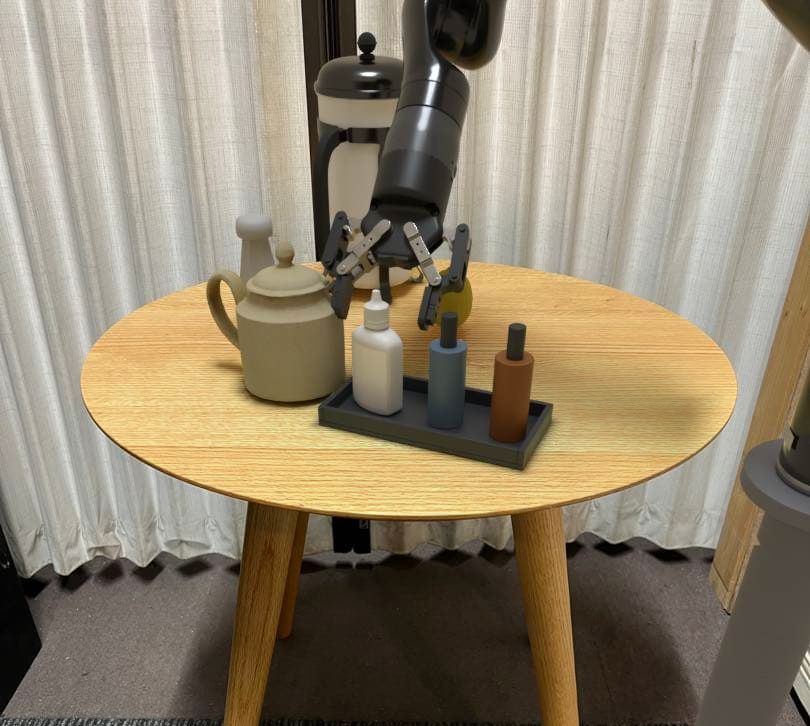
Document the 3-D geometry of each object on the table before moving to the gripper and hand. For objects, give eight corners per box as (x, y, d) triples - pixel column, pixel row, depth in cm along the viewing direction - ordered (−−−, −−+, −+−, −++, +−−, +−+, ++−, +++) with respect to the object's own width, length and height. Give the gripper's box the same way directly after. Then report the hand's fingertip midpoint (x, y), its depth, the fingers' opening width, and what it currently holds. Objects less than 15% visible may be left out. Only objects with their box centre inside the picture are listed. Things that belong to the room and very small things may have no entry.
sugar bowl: (198, 403, 85) (174, 254, 77) (220, 362, 94) (200, 225, 86) (342, 402, 85) (333, 253, 76) (350, 361, 94) (343, 224, 86)
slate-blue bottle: (468, 416, 83) (474, 310, 77) (455, 432, 81) (461, 324, 74) (435, 409, 84) (438, 304, 78) (421, 424, 82) (424, 318, 75)
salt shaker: (296, 320, 104) (288, 213, 96) (267, 336, 100) (257, 225, 92) (260, 311, 106) (249, 205, 98) (230, 325, 102) (217, 217, 94)
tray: (551, 421, 83) (553, 403, 82) (522, 470, 76) (524, 451, 75) (362, 382, 90) (362, 365, 89) (318, 424, 83) (317, 406, 81)
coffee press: (301, 272, 118) (285, 26, 100) (410, 264, 121) (413, 24, 103) (321, 318, 104) (305, 43, 86) (442, 308, 108) (452, 40, 89)
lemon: (441, 344, 98) (443, 278, 94) (417, 328, 102) (418, 263, 97) (479, 335, 101) (483, 270, 96) (454, 320, 104) (457, 256, 100)
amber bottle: (530, 429, 81) (542, 321, 75) (519, 446, 78) (531, 336, 72) (495, 421, 82) (504, 315, 76) (483, 438, 80) (492, 329, 73)
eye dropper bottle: (363, 420, 82) (360, 303, 75) (350, 395, 86) (346, 282, 79) (405, 415, 83) (406, 299, 76) (390, 390, 87) (390, 278, 80)
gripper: (339, 140, 80) (300, 296, 78) (482, 152, 77) (445, 314, 75) (359, 185, 87) (324, 328, 86) (491, 197, 84) (457, 347, 82)
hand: (380, 322), depth 80 cm, fingers open, 8 cm apart
